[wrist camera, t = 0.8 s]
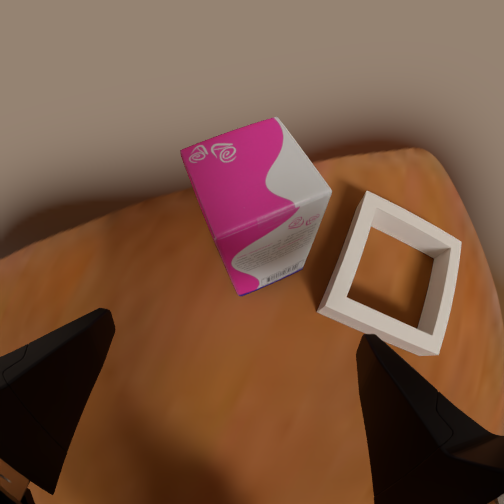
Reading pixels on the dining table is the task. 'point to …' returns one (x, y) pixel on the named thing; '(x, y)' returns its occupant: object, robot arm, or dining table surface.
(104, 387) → the dining table surface
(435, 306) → the collar
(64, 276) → the dining table surface
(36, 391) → the robot arm
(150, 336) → the dining table surface
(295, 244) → the supplement box
